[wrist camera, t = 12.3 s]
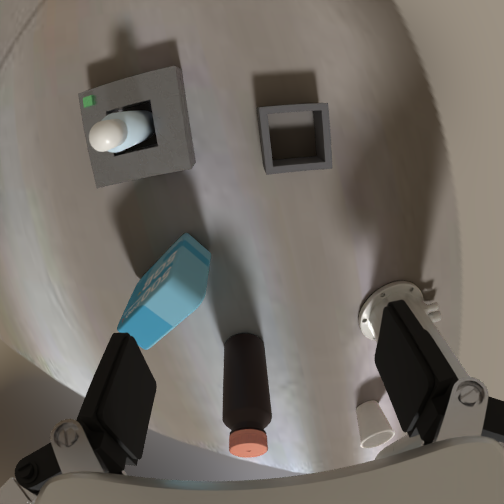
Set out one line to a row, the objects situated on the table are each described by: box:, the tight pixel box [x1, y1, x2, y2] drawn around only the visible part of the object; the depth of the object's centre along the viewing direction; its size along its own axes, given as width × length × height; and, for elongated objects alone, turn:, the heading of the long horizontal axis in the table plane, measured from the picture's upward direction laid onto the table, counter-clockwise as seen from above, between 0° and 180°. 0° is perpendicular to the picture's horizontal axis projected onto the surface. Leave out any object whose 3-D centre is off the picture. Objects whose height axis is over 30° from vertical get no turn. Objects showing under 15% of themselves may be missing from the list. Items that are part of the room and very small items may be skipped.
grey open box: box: [257, 103, 332, 174], centre depth 33 cm, size 8×8×4 cm
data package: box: [117, 233, 211, 350], centre depth 37 cm, size 12×4×12 cm, turn 134°
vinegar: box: [223, 333, 272, 457], centre depth 42 cm, size 7×7×20 cm
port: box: [78, 66, 196, 188], centre depth 31 cm, size 12×12×5 cm
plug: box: [89, 110, 155, 153], centre depth 28 cm, size 4×4×12 cm
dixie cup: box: [356, 400, 395, 448], centre depth 59 cm, size 8×8×10 cm
